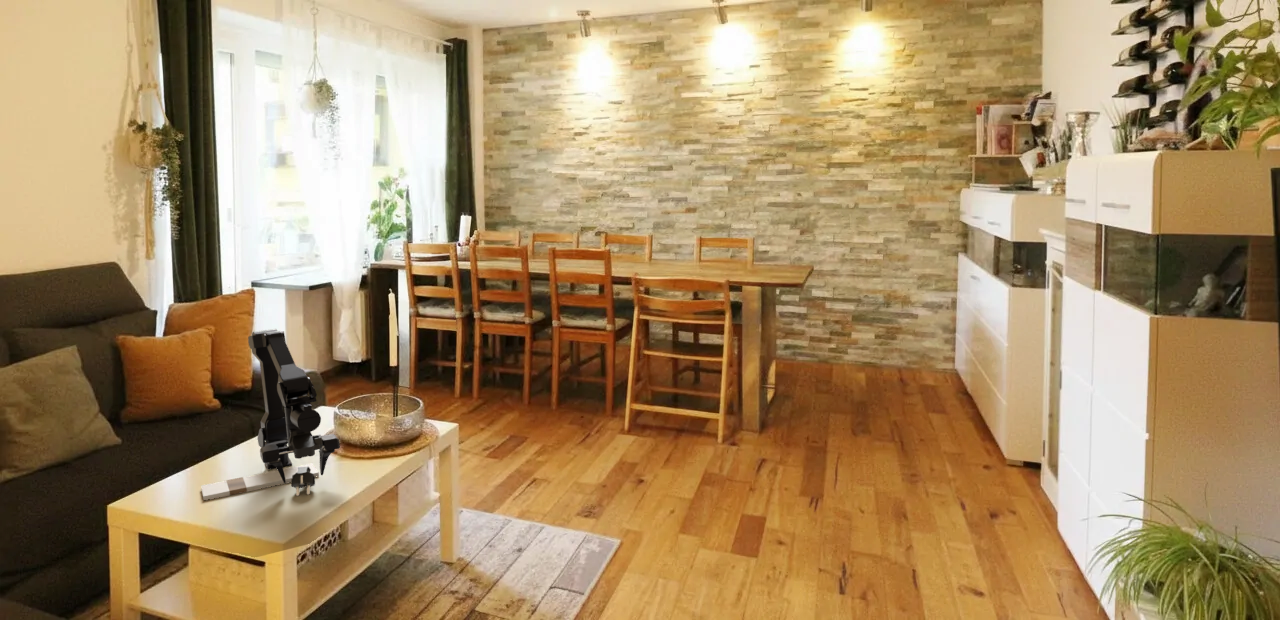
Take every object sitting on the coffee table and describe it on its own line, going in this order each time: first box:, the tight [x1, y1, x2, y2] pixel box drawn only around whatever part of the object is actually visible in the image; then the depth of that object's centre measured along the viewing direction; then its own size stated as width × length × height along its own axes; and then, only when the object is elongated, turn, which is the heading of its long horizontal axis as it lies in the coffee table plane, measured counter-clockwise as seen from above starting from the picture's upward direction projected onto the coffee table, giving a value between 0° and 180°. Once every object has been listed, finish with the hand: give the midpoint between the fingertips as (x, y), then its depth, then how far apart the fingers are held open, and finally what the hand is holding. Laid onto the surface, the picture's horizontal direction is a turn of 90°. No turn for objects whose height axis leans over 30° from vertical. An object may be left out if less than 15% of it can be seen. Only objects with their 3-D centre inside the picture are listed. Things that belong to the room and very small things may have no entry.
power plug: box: [290, 466, 316, 497], centre depth 205 cm, size 6×8×12 cm
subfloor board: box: [200, 462, 320, 501], centre depth 209 cm, size 8×28×1 cm, turn 123°
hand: (303, 478), depth 204 cm, fingers open, 9 cm apart
